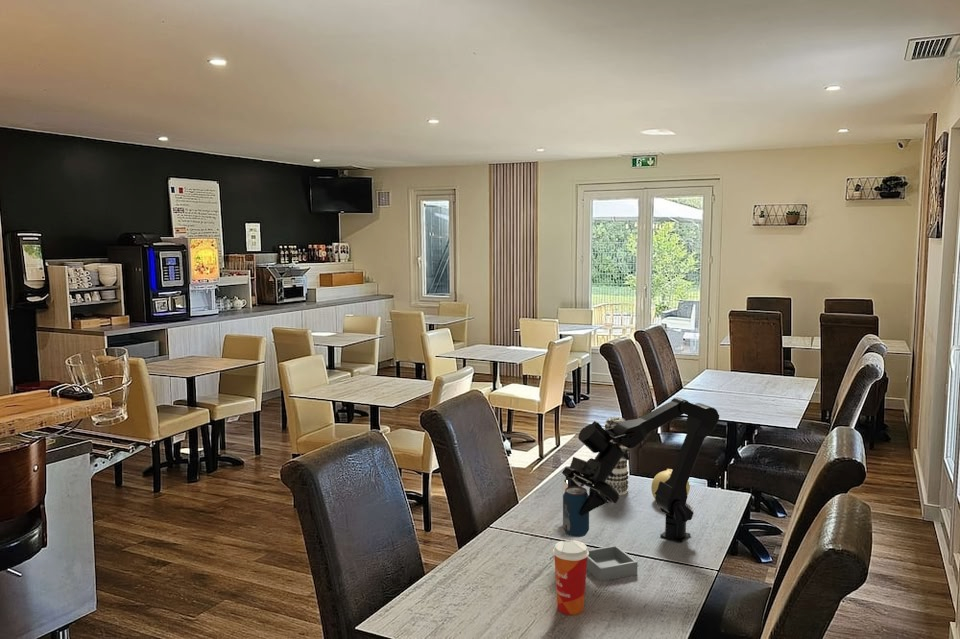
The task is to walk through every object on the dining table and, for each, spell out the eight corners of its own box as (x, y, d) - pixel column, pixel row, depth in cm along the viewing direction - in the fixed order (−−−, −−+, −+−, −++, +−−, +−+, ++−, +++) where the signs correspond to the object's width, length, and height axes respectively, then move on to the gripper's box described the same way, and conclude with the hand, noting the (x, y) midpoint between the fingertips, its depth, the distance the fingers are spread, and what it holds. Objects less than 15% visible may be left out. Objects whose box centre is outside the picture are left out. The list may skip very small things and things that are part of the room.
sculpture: (693, 509, 226) (694, 475, 224) (655, 509, 226) (656, 475, 225) (684, 496, 237) (684, 464, 236) (647, 496, 237) (648, 464, 236)
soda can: (592, 530, 194) (592, 487, 192) (584, 540, 188) (584, 496, 186) (567, 526, 197) (567, 484, 195) (559, 535, 191) (559, 492, 189)
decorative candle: (601, 495, 238) (602, 421, 236) (601, 485, 247) (602, 414, 245) (629, 496, 237) (630, 422, 234) (628, 486, 246) (629, 415, 243)
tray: (615, 557, 192) (616, 545, 192) (637, 574, 182) (637, 561, 182) (580, 563, 188) (580, 551, 188) (600, 581, 179) (600, 568, 178)
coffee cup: (549, 600, 169) (549, 539, 168) (583, 598, 170) (584, 538, 168) (556, 619, 161) (556, 555, 159) (592, 617, 162) (593, 553, 160)
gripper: (567, 437, 199) (534, 483, 195) (610, 455, 183) (575, 505, 179) (589, 460, 204) (558, 505, 200) (633, 479, 188) (600, 528, 184)
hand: (572, 510), depth 191 cm, fingers closed on soda can, 7 cm apart
